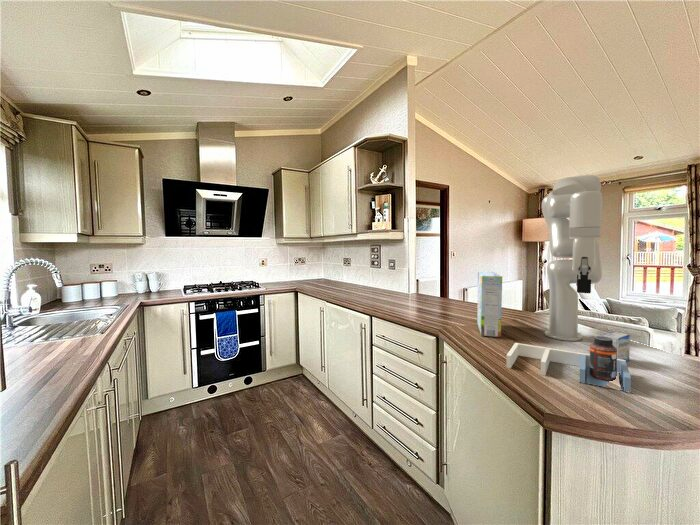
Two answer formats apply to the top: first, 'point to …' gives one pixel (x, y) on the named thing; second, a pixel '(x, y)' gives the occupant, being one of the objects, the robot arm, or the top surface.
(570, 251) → the robot arm
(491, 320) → the snack box
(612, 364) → the supplement bottle
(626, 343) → the medicine box
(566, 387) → the top surface
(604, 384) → the organizer
